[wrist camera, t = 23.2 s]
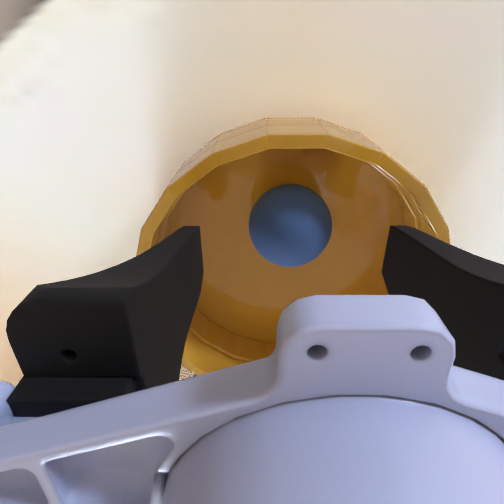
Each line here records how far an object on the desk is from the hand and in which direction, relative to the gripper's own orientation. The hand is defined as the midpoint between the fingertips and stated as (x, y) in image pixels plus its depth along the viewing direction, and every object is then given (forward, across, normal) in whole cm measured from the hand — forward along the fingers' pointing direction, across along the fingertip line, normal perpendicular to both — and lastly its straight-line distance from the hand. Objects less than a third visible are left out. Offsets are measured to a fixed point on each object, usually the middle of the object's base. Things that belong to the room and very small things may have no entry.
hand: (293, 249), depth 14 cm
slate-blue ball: (+2, 0, 0) cm, 2 cm away
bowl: (+4, 0, +2) cm, 5 cm away
